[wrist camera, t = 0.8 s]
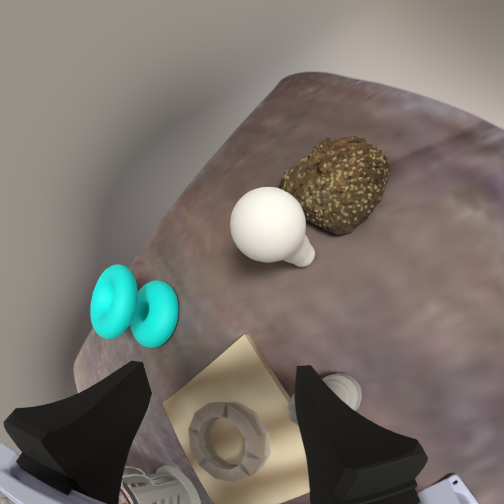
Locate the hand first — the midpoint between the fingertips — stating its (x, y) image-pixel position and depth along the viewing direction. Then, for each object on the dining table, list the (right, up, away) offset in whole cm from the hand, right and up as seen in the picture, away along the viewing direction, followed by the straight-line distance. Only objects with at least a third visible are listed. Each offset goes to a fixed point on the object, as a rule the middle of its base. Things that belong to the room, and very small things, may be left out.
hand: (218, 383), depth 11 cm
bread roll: (+12, +14, +18) cm, 26 cm away
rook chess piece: (+9, -7, +10) cm, 15 cm away
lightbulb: (+7, +5, +17) cm, 19 cm away
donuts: (-12, -4, +27) cm, 29 cm away
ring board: (0, -14, +13) cm, 19 cm away
